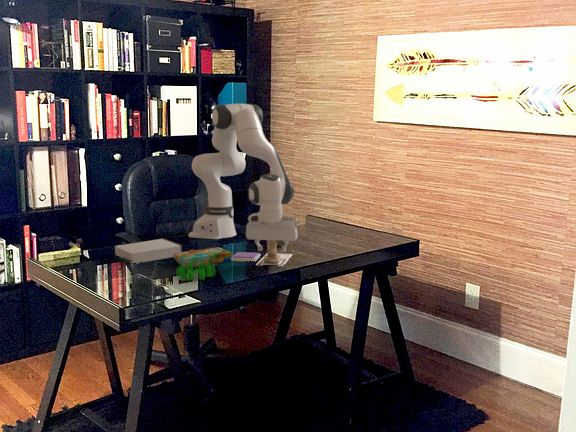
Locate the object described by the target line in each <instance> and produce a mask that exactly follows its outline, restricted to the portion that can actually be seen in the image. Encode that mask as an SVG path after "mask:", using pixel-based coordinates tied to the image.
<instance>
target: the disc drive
mask: <svg viewBox="0 0 576 432" xmlns="http://www.w3.org/2000/svg"><path fill="white" fill-rule="evenodd" d="M180 252H184V245H183V244H182V243H179V242H176V241H174V240H171V239H168V238H165V237H162V238H158V239H152V240H147V241H146V240H145V241H140V242H133V243H126V244H121V245H114V253H115V255H114V256H116V255H117V256H119V257H121V258H123V259H125V260H127V261H129V262H131V263H136V264H141V263H140V262H142V263H147V262H153V261H157V260H163V259H169V258H174V254H175V253H180ZM121 258H120V259H121ZM123 259H122V260H123ZM125 260H124V261H125ZM127 261H126V262H127ZM129 262H128V263H129ZM131 263H130V264H131Z"/></svg>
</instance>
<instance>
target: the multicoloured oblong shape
mask: <svg viewBox="0 0 576 432" xmlns="http://www.w3.org/2000/svg"><path fill="white" fill-rule="evenodd" d="M231 257H233V253H232V252H231V251H229V250H226V249H225V248H221V247H212V248H211V247H209V248H205V249H190V250H188V251H183V252H180V253H175V254H174V257H173V259H175V261H176V262H177V264H179V265H184V266H186V267H187V265H188V263H191V264H192V265H193V268H195V261H193V260H192V259H193V258H198V260H197V261H196V267H198V266H199V263H200V262H203V264H204V266H205V265H207V264H210V265H211V264H213V265H214V264H219V263H222V262H224V259H225V258H231ZM184 266H183V267H184ZM207 266H208V265H207Z"/></svg>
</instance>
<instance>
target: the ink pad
mask: <svg viewBox="0 0 576 432" xmlns="http://www.w3.org/2000/svg"><path fill="white" fill-rule="evenodd" d="M261 254H262V253H259V252H245V251H244V252H242V251H238V252H236V253H235V254H234V255H232V256H231V257H230V261H231V262H245V261H246V263H247V261H248V262H249V261H251V262H252V261H253V262H254V261H255V262H257V260H259V259H260V258H261V257H260V256H261ZM251 262H249V263H251ZM253 262H252V263H253ZM255 262H254V263H255Z"/></svg>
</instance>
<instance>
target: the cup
mask: <svg viewBox="0 0 576 432" xmlns="http://www.w3.org/2000/svg"><path fill="white" fill-rule="evenodd" d="M284 245H285V243H284V241H283V240H276V246H278V247H282V246H284Z"/></svg>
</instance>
